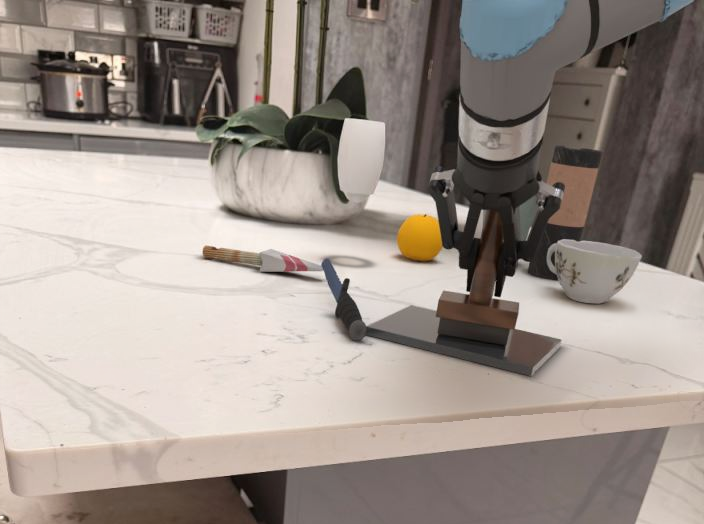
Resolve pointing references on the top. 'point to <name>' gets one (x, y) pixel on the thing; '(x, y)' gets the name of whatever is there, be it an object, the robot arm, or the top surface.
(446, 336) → the slate board
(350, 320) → the knife
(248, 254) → the paintbrush
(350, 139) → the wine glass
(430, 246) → the orange
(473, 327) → the brush
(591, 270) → the teacup
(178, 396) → the top surface
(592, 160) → the travel mug
